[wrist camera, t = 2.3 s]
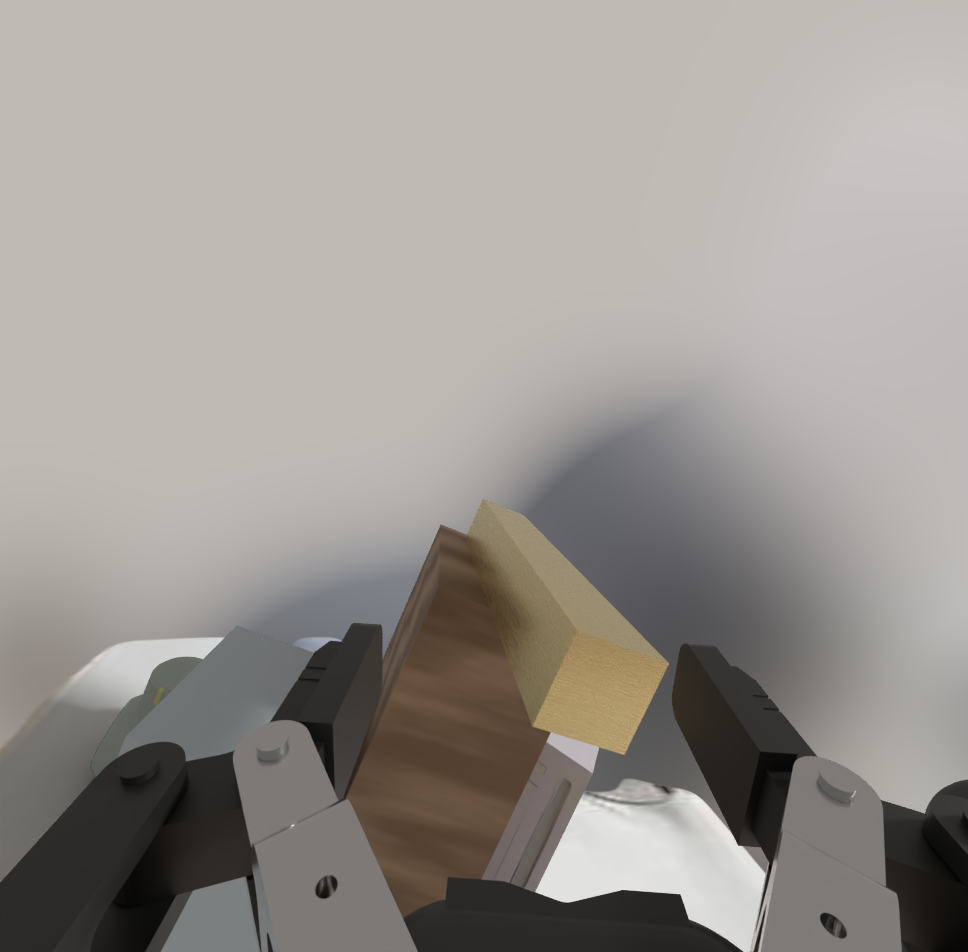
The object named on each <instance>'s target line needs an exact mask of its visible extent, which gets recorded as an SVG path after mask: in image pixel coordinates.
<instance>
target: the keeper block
mask: <svg viewBox="0 0 968 952" xmlns="http://www.w3.org/2000/svg"><path fill="white" fill-rule="evenodd" d="M313 654H314V653H313V652H310V651H307V650H304V649H302V648H299V647H296V646H293V645H290V644H288V643H284V642H282V641H279V640H276V639H273V638H270V637H268V636H265V635H262V634H259V633H256V632H253V631H251V630H248V629H245V628H242V627H240V626H236V627H235V628H234V629H233V630H232V631H231V632H230V633H229V634H228V635H227V636H226V637H225V638H224V639H223V640H222V641H221V642H220V643H219V644H218V645H217V646H216V647H215V648H214V649H213V650H212V651H211V652H210V653H209V654H208V655H207V656H206V657H205V658H204V659H203V660H202V661H201V662H200V663H199V664H198V665H197V666H196V667H195V668H194V669H193V670H192V671H191V672H190V673H189V674H188V675H187V676H186V677H185V678H184V679H183V680H182V681H181V682H180V683H179V684H178V685H177V686H176V687H175V688H174V689H173V690H172V691H171V692H170V693H169V694H168V695H167V696H166V697H165V698H164V699H163V700H162V701H161V702H160V703H159V704H158V705H157V706H156V707H155V708H154V709H153V710H152V711H151V712H150V713H149V714H148V715H147V716H146V717H145V718H144V719H143V720H142V721H141V722H140V723H139V724H138V725H137V726H136V727H135V728H134V729H133V730H132V731H131V732H130V733H129V734H128V735H127V736H126V737H125V739H124V742H123V744H122V747H121V749H120V752H119V755H118V757H119V756H121V755H123V754H124V753H126V752H128V751H130V750H132V749H134V748H137V747H140V746H142V745H146V744H150V743H155V742H172V743H176V744H178V745H180V746H181V747H182V748H183V749H184V751H185V756H186V761H191V760H196V759H201V758H206V757H211V756H217V755H221V754H225V753H228V752H231V751H234V750H235V749H236V747H237V745H238V744H239V742H240V741H241V740H242V739H243V738H244V737H245V736H246V735H247V734H248V733H250V732H251V731H253V730H254V729H256V728H258V727H260V726H262V725H264V724H267V723H270V721H271V719H272V718H273V716H274V715H275V713H276V712H277V710H278V709H279V707H280V705H281V704H282V702H283V701H284V699H285V698H286V696H287V695H288V693H289V691H290V690H291V688H292V687H293V685H294V684H295V682H296V681H298V677H299V676H300V674H301V673H302V671H303V670H304V669H305V668H306V665H307V663H308V662H309V660H310V659H311V657H312V656H313ZM118 757H117V758H118ZM161 952H258V949H257V944H256V938H255V933H254V927H253V922H252V917H251V911H250V906H249V901H248V895H247V890H246V885H245V879H244V877H242V878H238V879H235V880H231V881H227V882H223V883H220V884H216V885H212V886H208V887H205V888H201V889H197V890H194V891H193V892H192V894H191V895H190V897H189V899H188V901H187V903H186V905H185V907H184V909H183V911H182V913H181V915H180V916H179V918H178V920H177V922H176V924H175V926H174V928H173V930H172V932H171V934H170V935H169V937H168V939H167V941H166V943H165V945H164V947H163V949H162V951H161Z"/></svg>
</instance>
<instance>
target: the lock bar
mask: <svg viewBox="0 0 968 952" xmlns="http://www.w3.org/2000/svg"><path fill="white" fill-rule="evenodd" d="M465 542H466V545H467V547H468V550H469V553H470V556H471V558H472V561H473V564H474V567H475V569H476V572H477V575H478V578H479V580H480V583H481V586H482V589H483V592H484V594H485V597H486V600H487V603H488V605H489V608H490V611H491V614H492V616H493V619H494V622H495V625H496V627H497V630H498V633H499V636H500V638H501V641H502V644H503V647H504V650H505V652H506V655H507V658H508V661H509V663H510V666H511V669H512V672H513V674H514V677H515V680H516V683H517V685H518V688H519V691H520V694H521V696H522V699H523V702H524V705H525V708H526V710H527V713H528V716H529V719H530V721H531V724H532V727H536V728H539V729H542V730H545V731H548V732H552V733H555V734H558V735H561V736H565V737H568V738H571V739H574V740H577V741H581V742H584V743H587V744H590V745H594V746H597V747H600V748H603V749H607V750H610V751H613V752H616V753H620V754H623V755H625V752H626V750H627V748H628V746H629V744H630V742H631V740H632V738H633V736H634V734H635V732H636V730H637V728H638V726H639V724H640V722H641V720H642V718H643V716H644V714H645V712H646V710H647V707H648V705H649V704H650V702H651V699H652V697H653V695H654V693H655V691H656V689H657V687H658V685H659V683H660V681H661V679H662V677H663V675H664V673H665V671H666V669H667V667H668V665H669V663H668V662H667V661H666V660H665V659H664V658H663V657H662V656H661V655H660V654H659V653H658V652H657V651H656V650H655V649H654V648H653V647H652V646H651V645H650V644H649V643H648V642H647V641H646V640H645V639H644V638H643V637H642V636H641V635H640V633H638V631H637V630H636V629H635V628H634V627H633V626H632V625H631V624H630V623H629V622H628V621H627V620H626V619H625V618H624V617H623V616H622V615H621V614H620V613H619V612H618V611H617V610H616V609H615V608H614V607H613V606H612V605H611V604H610V603H609V602H608V601H607V600H606V599H605V598H604V597H603V596H602V595H601V594H600V593H599V592H598V591H597V590H596V589H595V587H593V586H592V584H591V583H590V582H589V581H588V580H587V579H586V578H585V577H584V576H583V575H582V574H581V573H580V572H579V571H578V570H577V569H576V568H575V567H574V566H573V565H572V564H571V563H570V562H569V561H568V560H567V559H566V558H565V557H564V556H563V555H562V554H561V553H560V552H559V551H558V550H557V549H556V548H555V547H554V546H553V545H552V544H551V543H550V542H549V541H548V540H547V539H546V537H545V536H543V534H542V533H541V532H540V531H539V530H538V529H537V528H536V527H535V526H534V525H533V524H532V523H531V522H530V521H529V520H528V519H527V518H526V517H525V516H524V515H522V514H519V513H517V512H514V511H512V510H509V509H507V508H505V507H502V506H500V505H497V504H495V503H492V502H490V501H487V500H485V499H483V500H482V502H481V505H480V507H479V509H478V511H477V514H476V516H475V518H474V521H473V523H472V525H471V527H470V530H469V532H468V535H467V537H466V539H465Z"/></svg>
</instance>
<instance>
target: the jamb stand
mask: <svg viewBox="0 0 968 952" xmlns="http://www.w3.org/2000/svg"><path fill="white" fill-rule="evenodd" d="M466 537H467V535H466V534H463V533H461V532H458V531H456V530H453V529H451V528H448V527H446V526H443V525H440V528H439V530H438V532H437V535H436V537H435V539H434V542H433V544H432V546H431V549H430V551H429V553H428V556H427V558H426V560H425V562H424V565H423V567H422V569H421V572H420V574H419V576H418V579H417V581H416V583H415V585H414V588H413V590H412V592H411V595H410V597H409V599H408V602H407V604H406V606H405V609H404V611H403V613H402V616H401V618H400V620H399V622H398V625H397V627H396V629H395V632H394V634H393V636H392V639H391V641H390V643H389V646H388V648H387V650H386V653H385V655H384V657H383V659H382V685H381V691H380V696H379V700H378V703H377V705H376V708H375V711H374V714H373V716H372V719H371V722H370V725H369V728H368V730H367V733H366V736H365V739H364V741H363V744H362V747H361V750H360V752H359V755H358V758H357V761H356V764H355V766H354V769H353V772H352V775H351V777H350V780H349V783H348V786H347V788H346V791H345V794H344V797H343V798H347V799H348V800H349V801H350V803H351V805H352V807H353V809H354V811H355V813H356V816H357V818H358V820H359V822H360V824H361V827H362V829H363V831H364V833H365V835H366V838H367V840H368V842H369V844H370V847H371V849H372V851H373V853H374V855H375V858H376V860H377V862H378V864H379V867H380V869H381V871H382V873H383V875H384V878H385V880H386V882H387V884H388V887H389V889H390V891H391V893H392V895H393V898H394V900H395V902H396V904H397V906H398V909H399V911H400V913H401V915H402V918H404V917H405V916H406V915H408V914H410V913H412V912H413V911H415V910H417V909H419V908H421V907H423V906H426V905H428V904H431V903H433V902H437V901H441V900H445V899H446V889H447V879H448V877H455V878H468V879H482V877H483V875H484V873H485V871H486V868H487V866H488V864H489V862H490V860H491V858H492V856H493V854H494V852H495V849H496V847H497V845H498V843H499V841H500V839H501V837H502V835H503V833H504V830H505V828H506V826H507V824H508V822H509V820H510V818H511V816H512V814H513V811H514V809H515V807H516V805H517V803H518V801H519V799H520V797H521V795H522V792H523V790H524V788H525V786H526V784H527V782H528V780H529V778H530V776H531V773H532V771H533V769H534V767H535V765H536V763H537V761H538V759H539V757H540V754H541V752H542V750H543V748H544V746H545V744H546V742H547V740H548V737H549V735H550V733H551V732H548V731H545V730H542V729H539V728H536V727H532V724H531V721H530V719H529V716H528V713H527V710H526V708H525V705H524V702H523V699H522V696H521V694H520V691H519V688H518V685H517V683H516V680H515V677H514V674H513V672H512V669H511V666H510V663H509V661H508V658H507V655H506V652H505V650H504V647H503V644H502V641H501V638H500V636H499V633H498V630H497V627H496V625H495V622H494V619H493V616H492V614H491V611H490V608H489V605H488V603H487V600H486V597H485V594H484V592H483V589H482V586H481V583H480V580H479V578H478V575H477V572H476V569H475V567H474V564H473V561H472V558H471V556H470V553H469V550H468V547H467V545H466V542H465V539H466Z"/></svg>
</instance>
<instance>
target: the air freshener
mask: <svg viewBox="0 0 968 952" xmlns="http://www.w3.org/2000/svg"><path fill="white" fill-rule="evenodd" d="M202 660H203V659H200V658H195V657H179V658H174V659H170V660H168V661H165V662H163V663H161V664H159V665H158V666H157V667H156V668H155V669H154V670H153V672H152V674H151V676H150V679H149V681H148V684H147V686H146V689H145V691H144V694H143V695H140V696H137V697H135V698H132V699H131V700H130V701H129V702H128V703H127V704H126V706H125V707H124V708H123V710H122V711H121V712H120V714H119V715H118V717H117V718H116V719H115V721H114V722H113V724H112V726H111V727H110V729H109V730H108V732H107V734H106V735H105V737H104V739H103V740H102V742H101V744H100V746H99V748H98V750H97V751H96V754H95V756H94V758H93V760H92V763H91V766H90V768H91V770H92V772H93V774H94V776H95V778H96V776H97V775H98V774H99V773H100V772H101V771H102V770H103V769H104V768H105V767H106V766H107V765H108V764H110V763H111V762H112V761H113V760H115V759H116V758H117V757H118V755H119V752H120V749H121V747H122V744H123V742H124V739H125V737H126V736H127V735H128V734H129V733H130V732H131V731H132V730H133V729H134V728H135V727H136V726H137V725H138V724H139V723H140V722H141V721H142V720H143V719H144V718H145V717H146V716H147V715H148V714H149V713H150V712H151V711H152V710H153V709H154V708H155V707H156V706H157V705H158V704H159V703H160V702H161V701H162V700H163V699H164V698H165V697H166V696H167V695H168V694H169V693H170V692H171V691H172V690H173V689H174V688H175V687H176V686H177V685H178V684H179V683H180V682H181V681H182V680H183V679H184V678H185V677H186V676H187V675H188V674H189V673H190V672H191V671H192V670H193V669H194V668H195V667H196V666H197V665H198V664H199V663H200V662H201V661H202Z"/></svg>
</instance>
